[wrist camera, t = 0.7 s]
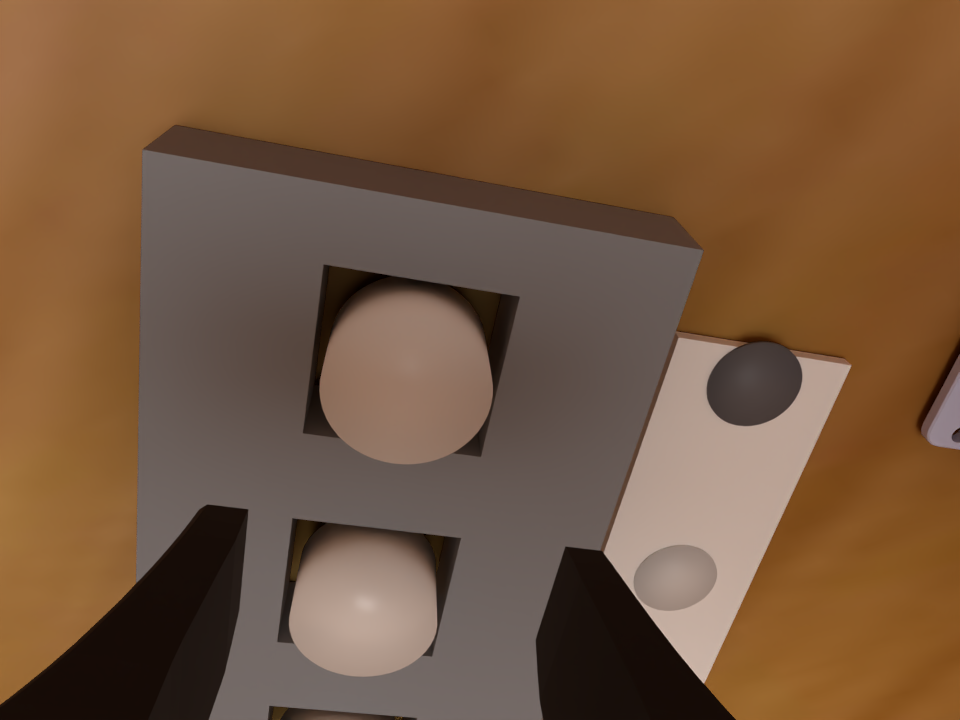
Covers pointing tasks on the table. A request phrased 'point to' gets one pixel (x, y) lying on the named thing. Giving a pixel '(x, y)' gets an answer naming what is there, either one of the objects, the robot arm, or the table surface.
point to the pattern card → (715, 480)
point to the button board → (348, 473)
